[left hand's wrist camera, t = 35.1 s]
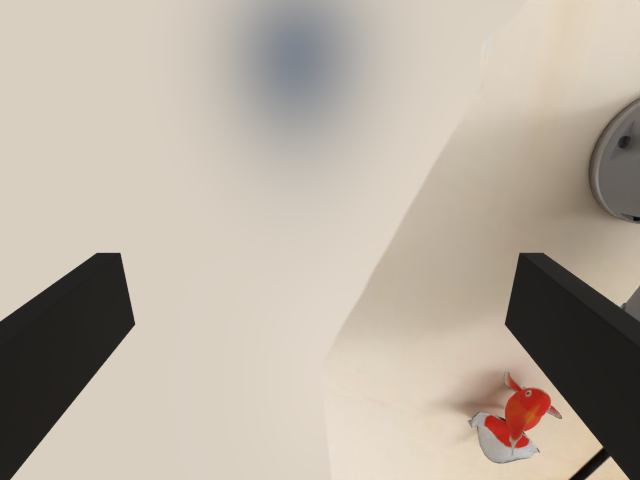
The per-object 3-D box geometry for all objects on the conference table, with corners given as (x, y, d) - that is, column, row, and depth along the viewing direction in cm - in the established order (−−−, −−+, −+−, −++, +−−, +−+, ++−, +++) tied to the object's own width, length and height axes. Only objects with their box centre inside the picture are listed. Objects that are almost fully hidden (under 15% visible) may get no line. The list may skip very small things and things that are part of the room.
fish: (594, 411, 52) (596, 477, 44) (503, 435, 62) (493, 492, 55) (534, 355, 52) (527, 411, 45) (454, 388, 63) (438, 439, 56)
